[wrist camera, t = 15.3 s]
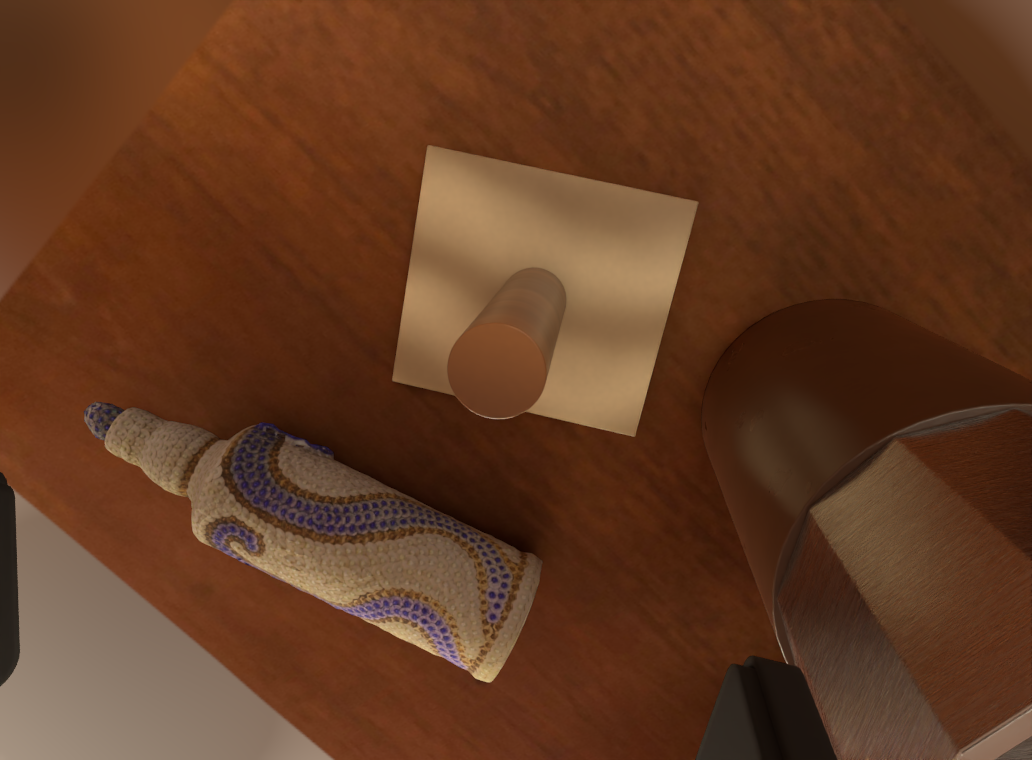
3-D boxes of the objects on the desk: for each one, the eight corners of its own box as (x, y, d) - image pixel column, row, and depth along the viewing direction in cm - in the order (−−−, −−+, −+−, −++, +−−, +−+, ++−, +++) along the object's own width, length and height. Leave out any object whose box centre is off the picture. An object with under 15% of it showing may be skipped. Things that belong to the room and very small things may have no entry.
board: (432, 145, 34) (427, 144, 33) (695, 200, 33) (699, 201, 32) (398, 375, 38) (391, 381, 37) (633, 428, 37) (634, 437, 36)
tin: (739, 275, 34) (1056, 517, 10) (986, 328, 33) (1933, 717, 10) (674, 491, 38) (799, 1039, 14) (896, 543, 37) (1423, 1209, 13)
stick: (508, 260, 34) (455, 312, 22) (572, 275, 34) (556, 335, 21) (496, 323, 35) (439, 407, 23) (558, 337, 35) (535, 429, 22)
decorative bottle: (557, 535, 39) (548, 607, 33) (500, 633, 42) (482, 717, 35) (143, 330, 39) (52, 363, 32) (109, 441, 41) (19, 492, 35)
